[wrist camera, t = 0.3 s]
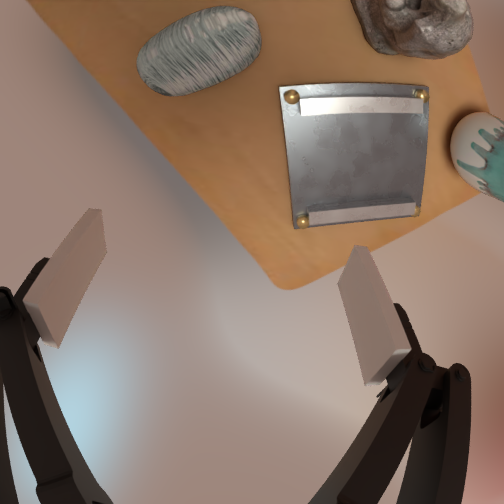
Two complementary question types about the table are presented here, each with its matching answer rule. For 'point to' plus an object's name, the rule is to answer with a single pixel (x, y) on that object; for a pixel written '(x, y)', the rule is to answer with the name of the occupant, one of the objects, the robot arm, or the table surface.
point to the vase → (480, 152)
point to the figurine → (416, 26)
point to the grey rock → (199, 51)
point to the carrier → (354, 150)
